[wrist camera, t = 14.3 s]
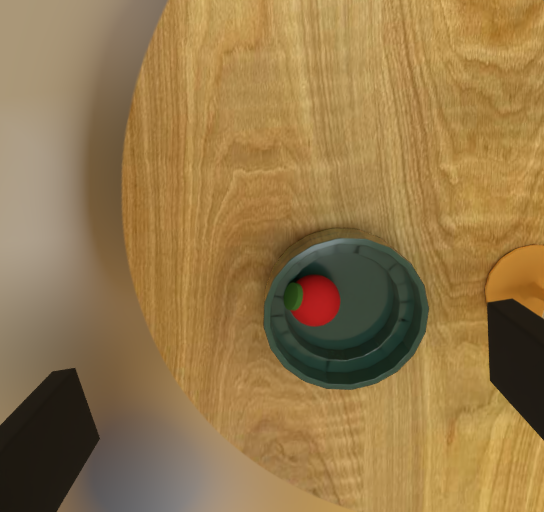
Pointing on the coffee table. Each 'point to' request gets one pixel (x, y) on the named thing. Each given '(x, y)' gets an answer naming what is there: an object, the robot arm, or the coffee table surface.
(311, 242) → the bowl
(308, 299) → the tomato
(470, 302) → the coffee table surface
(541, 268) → the cup
